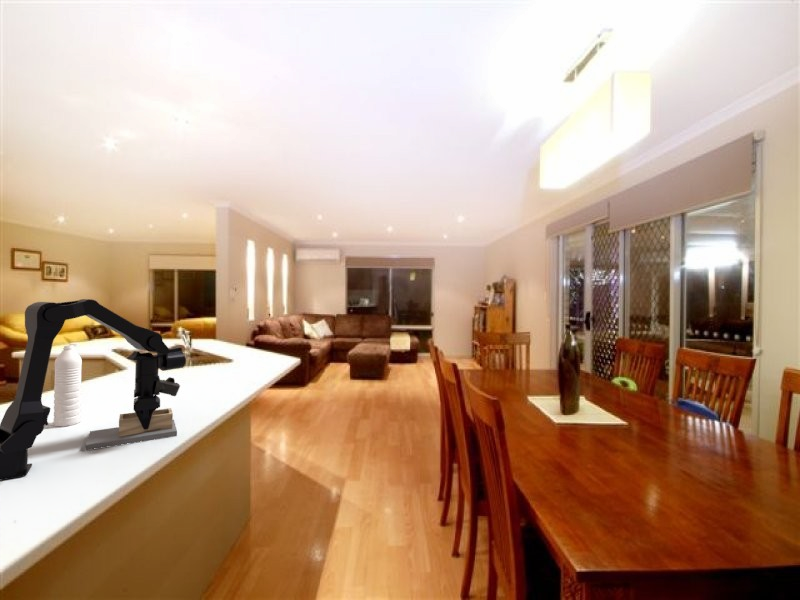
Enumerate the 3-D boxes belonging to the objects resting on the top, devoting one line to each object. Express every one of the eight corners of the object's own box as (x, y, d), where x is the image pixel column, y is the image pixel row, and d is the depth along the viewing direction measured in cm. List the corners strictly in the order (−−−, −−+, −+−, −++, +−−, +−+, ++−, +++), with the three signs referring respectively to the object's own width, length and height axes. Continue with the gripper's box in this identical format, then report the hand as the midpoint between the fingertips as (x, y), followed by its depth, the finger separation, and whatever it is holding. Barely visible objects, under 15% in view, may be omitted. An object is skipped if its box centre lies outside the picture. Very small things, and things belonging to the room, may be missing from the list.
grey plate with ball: (176, 435, 113) (177, 423, 113) (85, 450, 101) (85, 436, 101) (173, 424, 123) (173, 412, 123) (90, 436, 111) (90, 423, 111)
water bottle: (75, 425, 119) (76, 345, 119) (49, 427, 117) (50, 346, 117) (87, 417, 128) (88, 342, 127) (62, 419, 125) (64, 342, 125)
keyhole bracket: (172, 428, 115) (172, 413, 115) (118, 436, 108) (119, 420, 108) (170, 422, 120) (171, 408, 120) (119, 429, 113) (119, 414, 113)
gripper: (181, 376, 111) (179, 430, 111) (175, 366, 126) (174, 413, 126) (134, 380, 104) (132, 437, 104) (134, 368, 120) (133, 418, 120)
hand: (145, 425), depth 114 cm, fingers closed on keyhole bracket, 6 cm apart
